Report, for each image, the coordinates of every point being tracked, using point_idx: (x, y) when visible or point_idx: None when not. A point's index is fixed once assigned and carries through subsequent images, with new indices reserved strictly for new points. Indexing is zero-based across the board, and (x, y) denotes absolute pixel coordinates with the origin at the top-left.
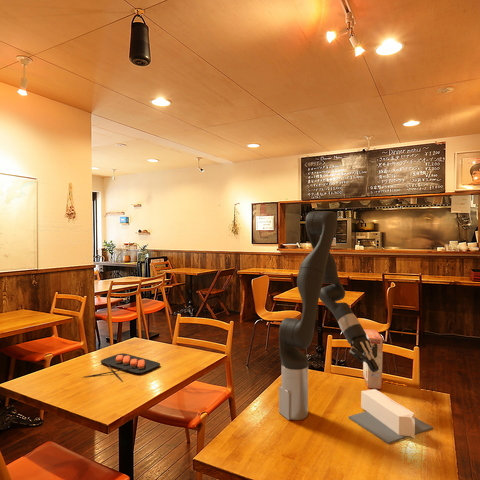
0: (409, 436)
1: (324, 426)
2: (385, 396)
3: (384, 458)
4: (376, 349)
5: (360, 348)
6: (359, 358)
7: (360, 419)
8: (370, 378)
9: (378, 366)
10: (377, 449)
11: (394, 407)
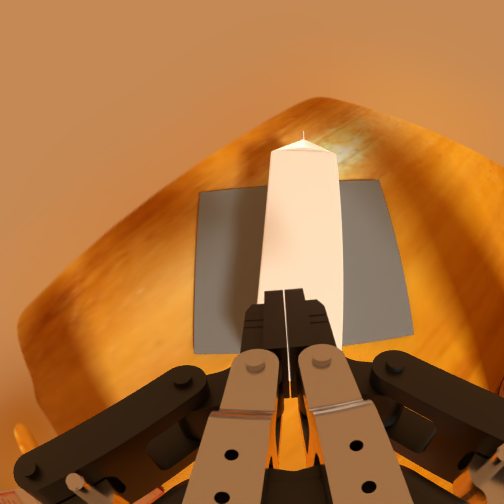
0: None
1: (489, 310)
2: (266, 287)
3: (412, 155)
4: (89, 432)
5: (421, 495)
6: (411, 424)
7: (388, 302)
8: (139, 499)
9: None
10: (412, 180)
11: (307, 198)
